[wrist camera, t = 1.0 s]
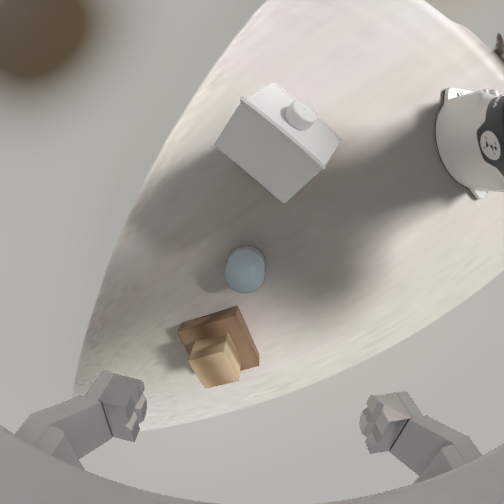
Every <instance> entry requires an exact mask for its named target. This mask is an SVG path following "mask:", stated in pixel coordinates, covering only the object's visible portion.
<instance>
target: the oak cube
mask: <svg viewBox="0 0 504 504" xmlns="http://www.w3.org/2000/svg"><path fill="white" fill-rule="evenodd" d="M188 362H189V363H190V365H191V367H192V368H193V370H194V372H195V373H196V375H197V377H198V378H199V380H200V382H201V383H202V385H203V386H204V388H209V387H214V386H218V385H223V384H227V383H231V382H235V381H239V377H240V367H241V357H240V355H239V353H238V351H237V349H236V347H235V345H234V343H233V341H232V339H231V337H230V335H229V333H228V332H224V333H221V334H217V335H214V336H210V337H207V338H203V339H200V340H196V341H195V343H194V346H193V349H192V351H191V354H190V357H189V359H188Z"/></svg>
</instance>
